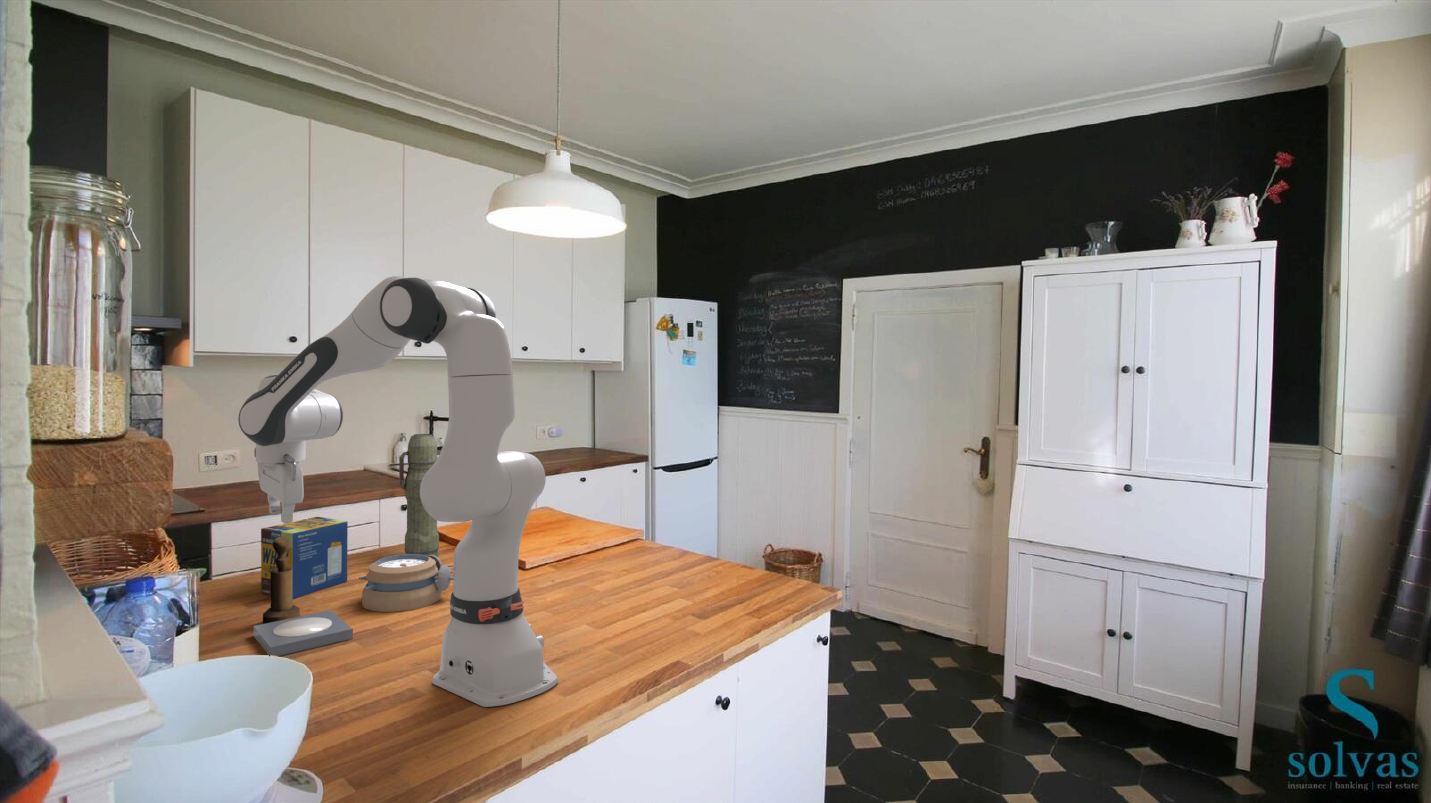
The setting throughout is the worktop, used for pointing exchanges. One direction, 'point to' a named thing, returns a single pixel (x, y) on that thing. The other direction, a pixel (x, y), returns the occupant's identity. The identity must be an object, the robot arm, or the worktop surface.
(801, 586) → the worktop surface
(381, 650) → the worktop surface
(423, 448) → the thermos
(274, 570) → the brown tall post-shaped piece
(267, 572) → the protein box
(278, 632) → the slate plate
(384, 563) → the alarm clock
